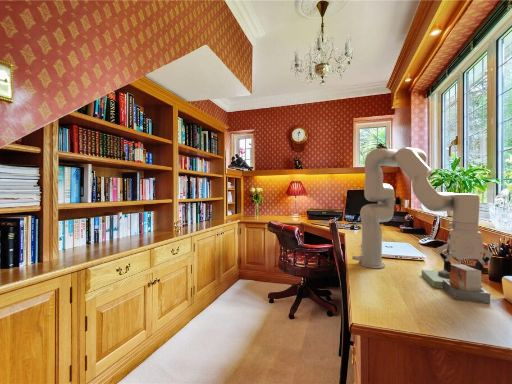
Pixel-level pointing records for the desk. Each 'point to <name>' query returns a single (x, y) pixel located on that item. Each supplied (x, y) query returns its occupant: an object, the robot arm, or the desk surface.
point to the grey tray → (466, 294)
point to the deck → (436, 277)
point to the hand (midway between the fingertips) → (462, 272)
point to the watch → (457, 258)
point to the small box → (465, 278)
